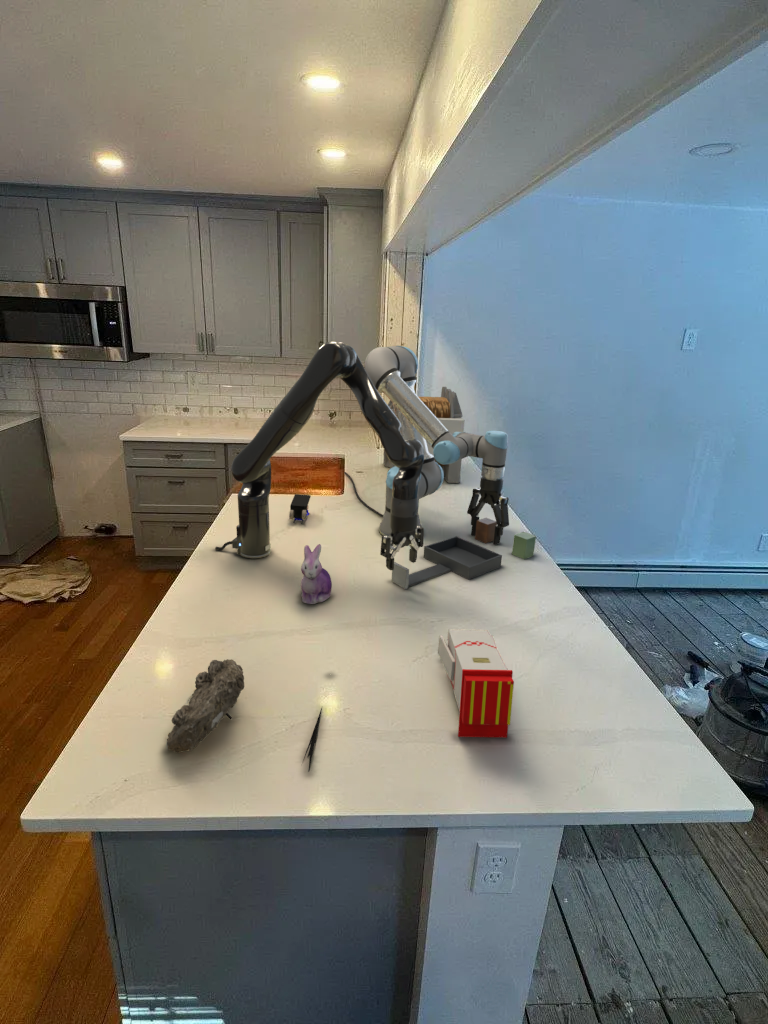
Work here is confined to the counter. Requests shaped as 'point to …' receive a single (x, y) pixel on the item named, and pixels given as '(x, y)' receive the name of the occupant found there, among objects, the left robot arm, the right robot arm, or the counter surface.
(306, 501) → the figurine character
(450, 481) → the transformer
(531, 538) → the sage block
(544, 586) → the counter surface
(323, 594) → the figurine
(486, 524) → the walnut block
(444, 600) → the counter surface
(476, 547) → the tray
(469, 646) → the toy
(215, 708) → the fossil
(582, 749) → the counter surface
